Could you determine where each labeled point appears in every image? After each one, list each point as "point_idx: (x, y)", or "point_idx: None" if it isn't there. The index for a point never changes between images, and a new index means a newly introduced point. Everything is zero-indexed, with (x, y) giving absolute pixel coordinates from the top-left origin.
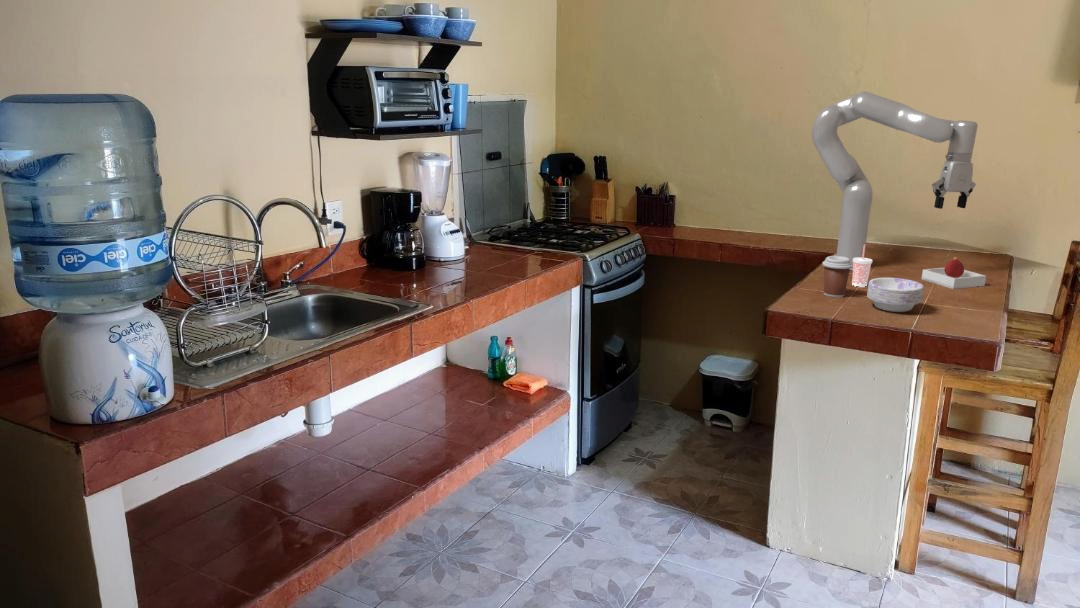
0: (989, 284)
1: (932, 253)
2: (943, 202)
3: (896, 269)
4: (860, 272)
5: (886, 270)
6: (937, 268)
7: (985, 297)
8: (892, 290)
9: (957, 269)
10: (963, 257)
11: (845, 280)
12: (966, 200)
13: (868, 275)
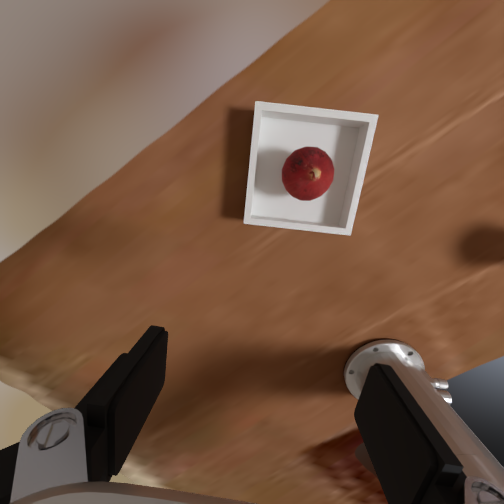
0: (227, 117)
1: None
2: (399, 406)
3: (306, 317)
4: None
5: (335, 319)
6: (303, 227)
7: (372, 11)
8: None
9: (324, 151)
10: (59, 333)
11: None
12: (119, 370)
13: None
